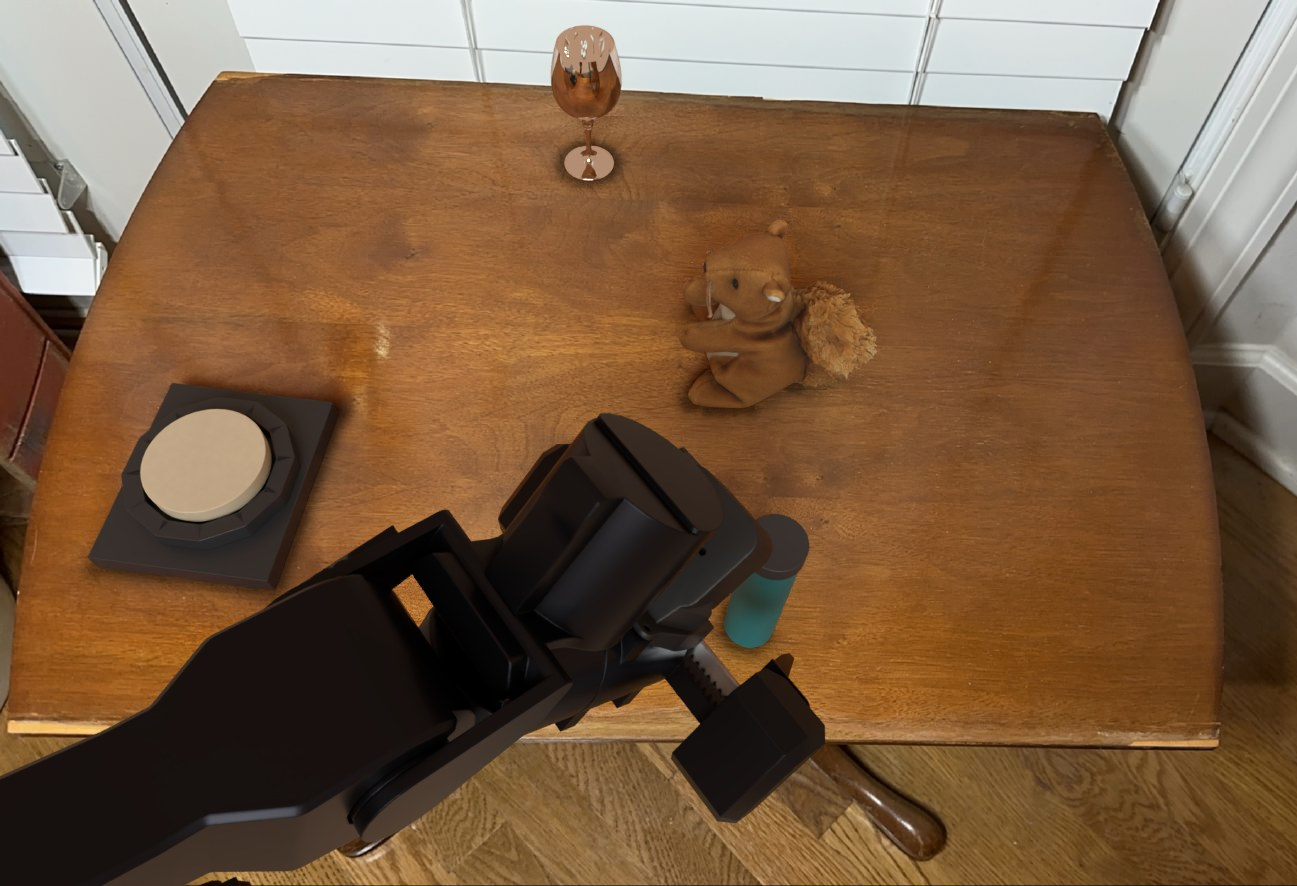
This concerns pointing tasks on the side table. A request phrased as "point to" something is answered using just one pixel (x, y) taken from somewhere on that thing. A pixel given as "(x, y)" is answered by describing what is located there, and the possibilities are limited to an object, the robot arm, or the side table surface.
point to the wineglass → (586, 91)
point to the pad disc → (206, 465)
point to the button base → (241, 540)
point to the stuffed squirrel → (768, 325)
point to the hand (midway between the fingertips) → (730, 595)
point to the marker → (767, 584)
